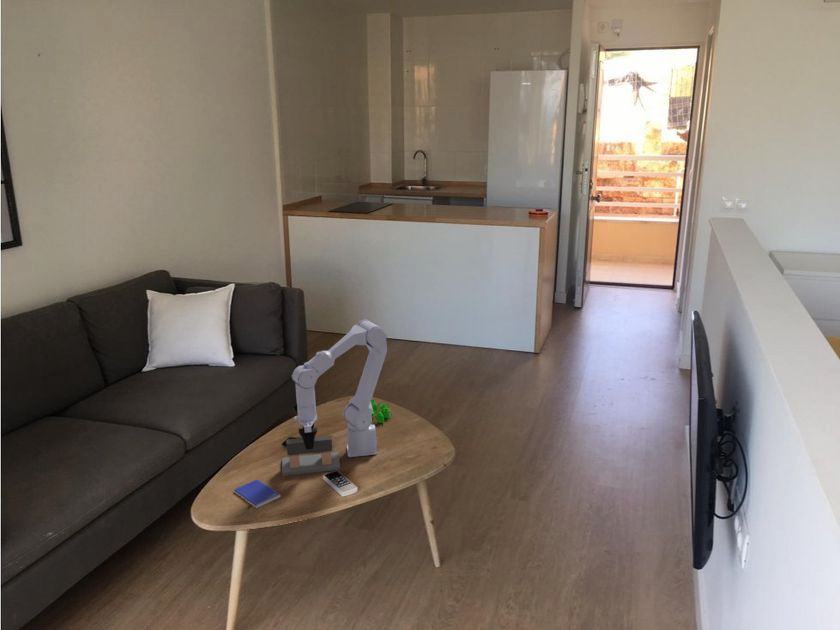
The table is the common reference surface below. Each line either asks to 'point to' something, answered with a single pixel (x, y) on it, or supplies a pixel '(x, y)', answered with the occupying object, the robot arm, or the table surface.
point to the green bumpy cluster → (380, 415)
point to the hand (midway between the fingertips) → (309, 443)
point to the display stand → (310, 463)
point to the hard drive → (257, 493)
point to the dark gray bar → (299, 448)
